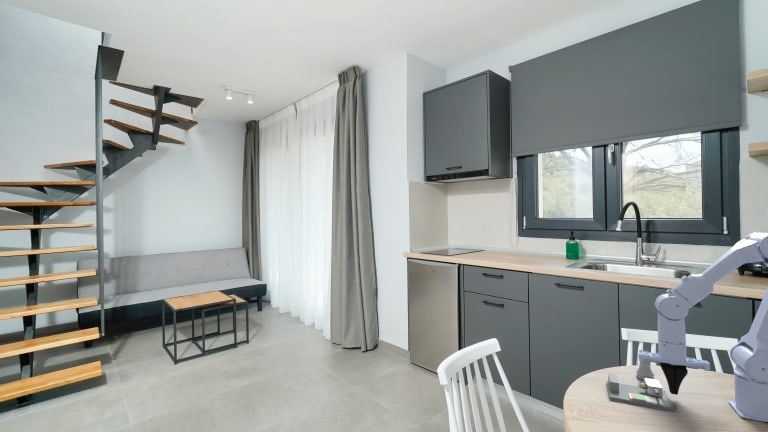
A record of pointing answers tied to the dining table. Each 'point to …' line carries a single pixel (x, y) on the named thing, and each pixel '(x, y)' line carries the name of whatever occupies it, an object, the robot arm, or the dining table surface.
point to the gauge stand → (636, 395)
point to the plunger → (652, 387)
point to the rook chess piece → (644, 369)
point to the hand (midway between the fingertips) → (673, 392)
